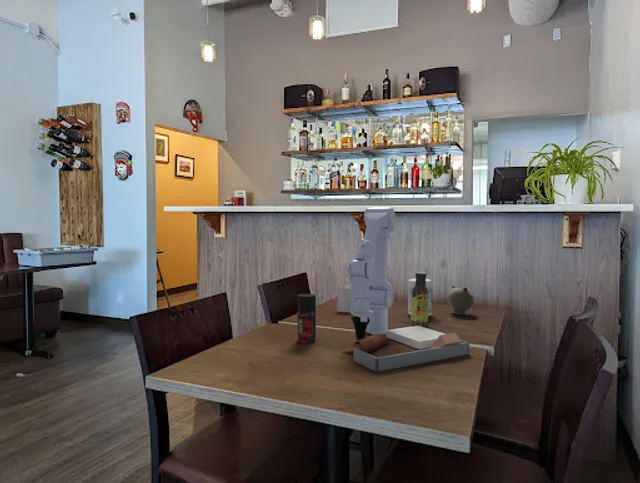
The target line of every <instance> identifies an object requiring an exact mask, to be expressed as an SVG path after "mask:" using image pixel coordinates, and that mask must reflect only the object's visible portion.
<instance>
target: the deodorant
mask: <svg viewBox="0 0 640 483" xmlns="http://www.w3.org/2000/svg"><path fill="white" fill-rule="evenodd" d="M316 296H317V295H316V294H313V293H299V294H297V342H299V343H302V344H303V343H304V344H310V343H311V344H312V343H314V342H316V338H317V327H316V326H317V319H316V318H317V305H316V302H317V299H316V298H317V297H316Z"/></svg>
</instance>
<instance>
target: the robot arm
mask: <svg viewBox="0 0 640 483" xmlns="http://www.w3.org/2000/svg"><path fill="white" fill-rule="evenodd" d="M395 212H396V211H395V209H394V208H393V207H392V206H388V207H386V206H385V207H380V206H379V207H370V206H367V207H366V208H365V210H364V213H363V219H364V224H365V226H366V228H365V232H364V236H363V240H362V241H360V242H359V243H358V247H357V250H356V251H355V252H356V253H355V256H354V259H353V260H351V261H350V262H349V265H348V276H349V283H350V284H351V286H350V287H351V288H350V289H351V313H350V314H351V315H353V316H351V317H350V319H351V321H352V324H353V327H354V328H353V329H354V333H355V337H356V340H357V341H358V340H361V339H363V338H366V333H367V334H371V336H372V335H376V334H384V335H386V330H389V329H388V328H389V308H390V307H391V306H392V305H393V302H394V293H393V292H394V290H393V289H394V288H393V286H392V284H391V283H390V282H389V281H388V280H387V278H386V277H387V276H386V275H387V265H388V263H387V262H388V255H389V254H388V252H389V239H390V234H391V233H393V232H394V231H395V224H396V213H395ZM370 278H371V279H370Z"/></svg>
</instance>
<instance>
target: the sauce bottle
mask: <svg viewBox="0 0 640 483" xmlns="http://www.w3.org/2000/svg"><path fill="white" fill-rule="evenodd" d="M427 275H428V274H427V273H426V272H424V271H423V272H421V271H419V272H418V271H417V272H415V279H416V283H415V287H414V288H413V290H412V303H411V315H410V324H411V326H421V327H424V328H425V327H427V326H428V321H429V316H428V301H429V294H428V293H429V292H428V289H427V287H426V279H427Z"/></svg>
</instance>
